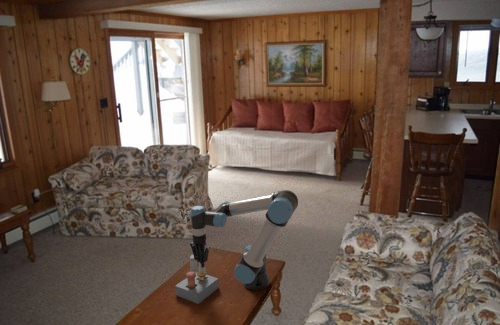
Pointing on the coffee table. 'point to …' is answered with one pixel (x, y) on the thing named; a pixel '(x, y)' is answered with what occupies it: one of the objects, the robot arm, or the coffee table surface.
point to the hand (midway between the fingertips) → (201, 271)
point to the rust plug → (191, 279)
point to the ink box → (194, 264)
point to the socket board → (197, 289)
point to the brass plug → (202, 275)
